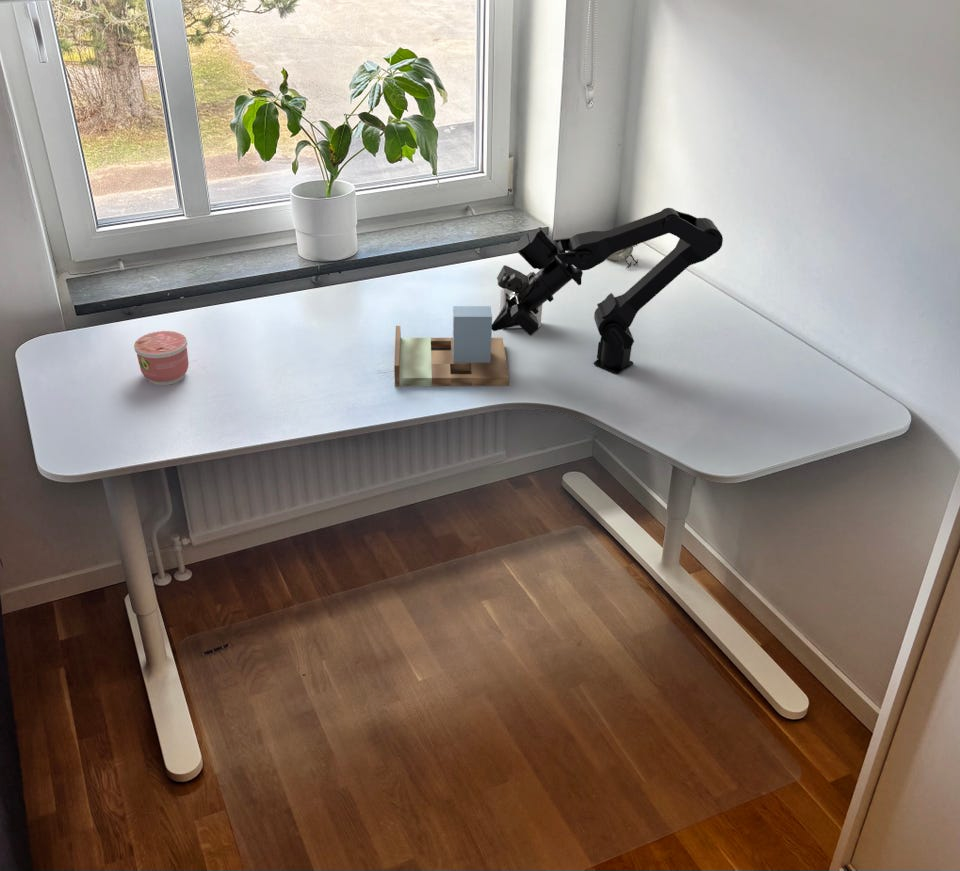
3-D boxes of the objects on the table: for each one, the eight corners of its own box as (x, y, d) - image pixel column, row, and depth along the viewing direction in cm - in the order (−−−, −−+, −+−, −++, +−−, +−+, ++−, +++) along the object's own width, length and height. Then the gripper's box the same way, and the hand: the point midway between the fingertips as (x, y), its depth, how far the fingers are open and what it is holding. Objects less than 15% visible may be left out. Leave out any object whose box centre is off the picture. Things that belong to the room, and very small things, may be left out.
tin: (488, 351, 210) (490, 306, 203) (490, 362, 205) (492, 316, 199) (452, 351, 209) (453, 306, 203) (453, 362, 205) (454, 316, 199)
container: (138, 367, 203) (132, 334, 199) (189, 360, 206) (183, 327, 202) (142, 392, 195) (135, 357, 191) (194, 384, 198) (189, 350, 194)
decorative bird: (596, 249, 266) (599, 223, 262) (641, 267, 256) (644, 241, 252) (583, 253, 263) (585, 228, 258) (628, 272, 253) (631, 246, 249)
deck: (502, 345, 216) (503, 325, 213) (508, 385, 201) (509, 365, 199) (396, 345, 215) (395, 325, 212) (394, 386, 200) (394, 365, 197)
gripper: (517, 238, 203) (464, 286, 208) (526, 275, 187) (468, 325, 192) (551, 273, 207) (498, 318, 213) (562, 311, 192) (505, 359, 197)
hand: (492, 329), depth 204 cm, fingers closed
